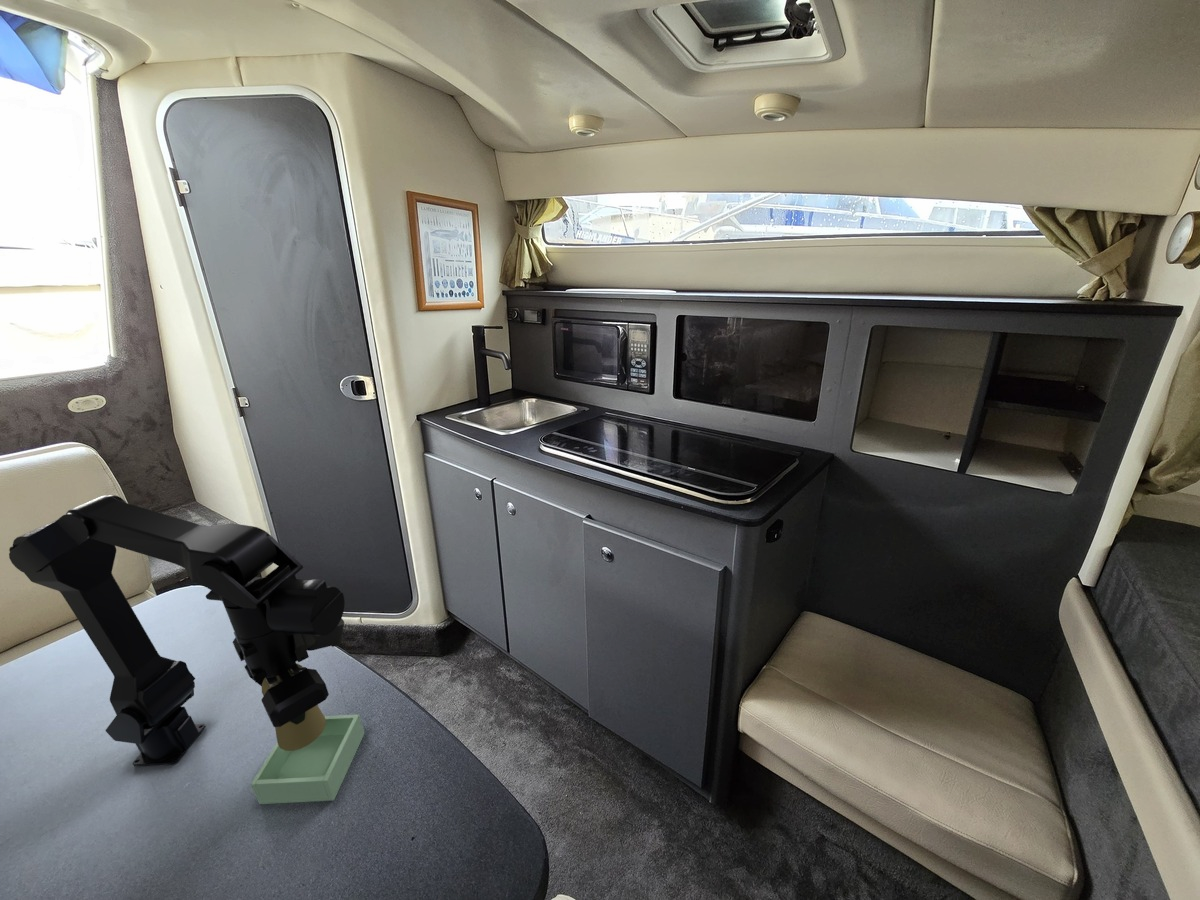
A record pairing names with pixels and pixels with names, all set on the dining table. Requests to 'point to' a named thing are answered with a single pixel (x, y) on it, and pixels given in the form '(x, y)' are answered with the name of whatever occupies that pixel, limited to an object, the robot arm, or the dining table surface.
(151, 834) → the dining table surface
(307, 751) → the tray
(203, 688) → the dining table surface
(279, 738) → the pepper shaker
